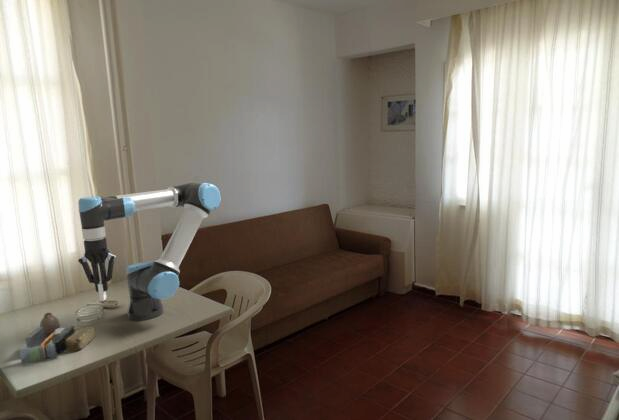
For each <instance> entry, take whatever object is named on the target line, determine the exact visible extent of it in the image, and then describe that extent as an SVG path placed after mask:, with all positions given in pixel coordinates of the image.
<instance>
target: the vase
mask: <svg viewBox="0 0 619 420" xmlns="http://www.w3.org/2000/svg"><path fill="white" fill-rule="evenodd" d="M39 327H43V330H44V336H45V337H49V336H50V335H51V334H52V333H53V332H54V331H55V330H56V329H58V328H61V324H60V321H59V318H57V316H55V315H54V314H53V313H52V312H46V313H44V315H43V317H42V319H41V320H40V323H39Z"/></svg>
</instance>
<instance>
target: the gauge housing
mask: <svg viewBox="0 0 619 420" xmlns="http://www.w3.org/2000/svg"><path fill="white" fill-rule="evenodd" d="M45 337H46V336H45V335H44V330H43V327H40V326H39V327H36V328H35V329H34V330H33V331H32V332H31V333H30V334H28V335H27V336H26V337H25V342H26V347H20V348H19V350H18V351H19V356H20V362H21V363H30V362H39V361H46V360H56V359H57V358H58V354H57V352H56V346H55V344H53V343H52V344H47V345H46V346H45V347H44V349H45V355H46V358H45V357H44V351H43V347H41V344H42V343H43V342H44V341H45V340H46V338H45Z"/></svg>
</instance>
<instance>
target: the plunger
mask: <svg viewBox="0 0 619 420" xmlns="http://www.w3.org/2000/svg"><path fill="white" fill-rule="evenodd" d="M75 332H76V331H75V326H74V325H72V326H70V327H69V328H67V329H66V327H60V328H58V329H56V330H55V331H54V332H53V333H52V334H51V335H50V336H47V338H45V341H44V342H43V343H42V344H41V347H43V351H44V357H45V358H46V355H45V349H44V347H45V346H46V345H49V343H50V342H51V341H52V343H51V344H52V345H53V344H55V346H56V352H57V355H61V354H62V352H63V351H64V350H66V344H65V340H66V339H67V338H68V337H70V336H71V335H72V334H74V333H75Z"/></svg>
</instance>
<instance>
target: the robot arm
mask: <svg viewBox="0 0 619 420" xmlns="http://www.w3.org/2000/svg"><path fill="white" fill-rule="evenodd" d="M221 196H222V195H221V192H220V190H219V188H218V187H217V186H216V185H215V184H212V183H208V182H204V183H202V182H201V183H199V182H198V183H197V182H189V183H188V182H187V183H183V184H178V185H174V186H173V185H172V186H168V187H167V189H160V190H151V191H143V192H136V193H135V192H134V193H127V194H119V195H113V196H110V195H109V196H97V195H94V196H84V197H81V198H79V199H78V212H79V213H78V214H79V220H80V225H81V232H82V239H83V247H84V254H83V256H82V257H80V258H79V259H78V260H77V261H78V263H80V265H81V266H82V268H83V271H84V273H85V275H86V278H87V280H88V283H89V284H94V286H95V287H94V288H95V292H96V293H98V297H99V301H100V302H103V301H105V300H107V293H106V292H107V291H108V289H109V287H108V282H110V281H111V280H112V279H113V272H114V264H115V260H116V258H117V255H116V254H112V253H110V251H109V249H108V244H107V243H108V242H107V237H106V228H105V227H106V226H105V221H109V220H110V221H112V220H115V219H116V220H117V219H123V218H129V217H132V216H134V215H135V212H138V211H142V210H143V211H145V210H151V209H157V208H159V209H160V208H165V207H170V208H184V211H183V214H182V215H181V217H180V219H179V221H178V223H177V225H176V227H175V229H174V230H173V232H172V235H171V236H170V237H169V238H170V239H169V240H168V242H167V244H166V246H165V248H164V250H163V252H162V253H161V256H160V257H159V259H156V260H154V261H152V260H151V261H150V260H148V261H143V262H137V263H134V264H130V265H129V266H127V267H126V279H127V280H126V281H127V287H128V294H129V303H128V309H127V318H128V320H131V321H146V320H150V319H154V318H157V317H159V316H160V315H162V314H163V313H164V312H165V307H164V303H163V302H162V300H167V299H168V298H171V297H172V296H174V295H175V294H176V293H177V291H178V289H179V286H180V279H179V275H180V274H181V273H180V272H181V270H180V265H181V263H182V261H183V259H184V258H185V256H186V253H187V252H188V250H189V247H190V245H191V243H192V242H193V239H194V237H195V236H196V233H197V231H198V229H199V228H200V226H201V224H202V222H203V219H205V218H208V217H209V215H210V213H211V212H212V211H213V210H215V209H217V208H219V206H220V204H221V201H222V197H221ZM106 260H108V263H107V264H108V265H107V268H106ZM88 261H89V262H88ZM89 263H90V265H91V266H90V265H89ZM106 271H107V272H106Z"/></svg>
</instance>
